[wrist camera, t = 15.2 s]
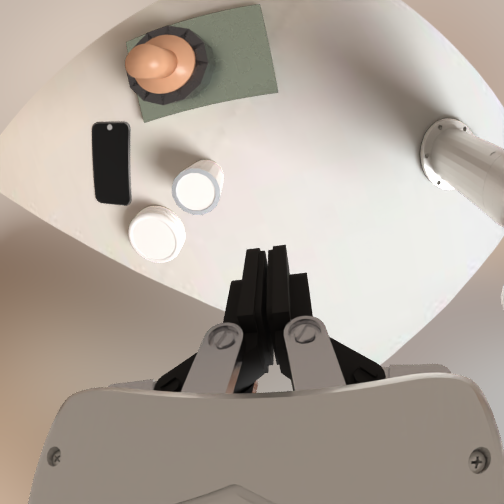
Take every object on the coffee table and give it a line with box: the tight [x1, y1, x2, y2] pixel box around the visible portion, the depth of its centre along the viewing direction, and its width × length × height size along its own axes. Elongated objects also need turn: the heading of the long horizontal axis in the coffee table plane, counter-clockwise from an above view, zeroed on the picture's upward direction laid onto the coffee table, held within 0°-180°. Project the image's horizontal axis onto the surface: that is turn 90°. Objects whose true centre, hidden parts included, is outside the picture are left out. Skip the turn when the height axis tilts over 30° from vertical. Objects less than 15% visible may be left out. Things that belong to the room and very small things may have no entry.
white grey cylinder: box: [172, 160, 224, 215], centre depth 40 cm, size 7×7×7 cm
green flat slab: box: [126, 4, 278, 123], centre depth 31 cm, size 20×14×6 cm
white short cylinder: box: [128, 206, 185, 263], centre depth 48 cm, size 10×10×4 cm
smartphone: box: [92, 122, 131, 206], centre depth 42 cm, size 8×1×15 cm
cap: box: [125, 35, 196, 94], centre depth 27 cm, size 8×8×10 cm
